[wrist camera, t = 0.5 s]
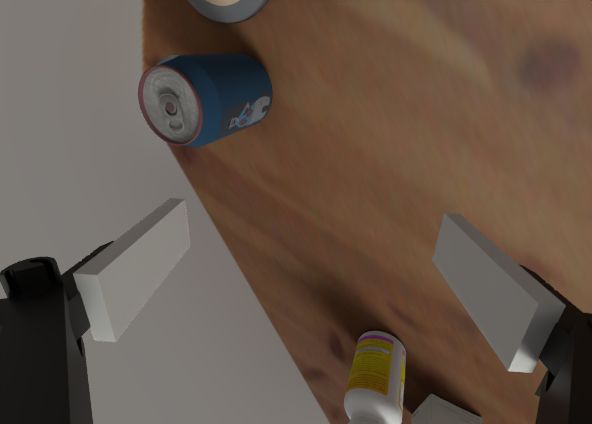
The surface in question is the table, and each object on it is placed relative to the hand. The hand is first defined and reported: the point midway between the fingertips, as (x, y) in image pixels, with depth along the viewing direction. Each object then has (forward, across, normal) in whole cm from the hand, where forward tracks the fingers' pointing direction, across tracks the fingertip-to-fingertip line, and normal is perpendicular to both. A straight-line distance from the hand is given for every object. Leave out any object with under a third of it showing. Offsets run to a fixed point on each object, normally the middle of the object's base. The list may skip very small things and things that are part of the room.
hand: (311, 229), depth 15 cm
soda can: (+21, -7, +6) cm, 23 cm away
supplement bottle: (+18, +12, -27) cm, 34 cm away
